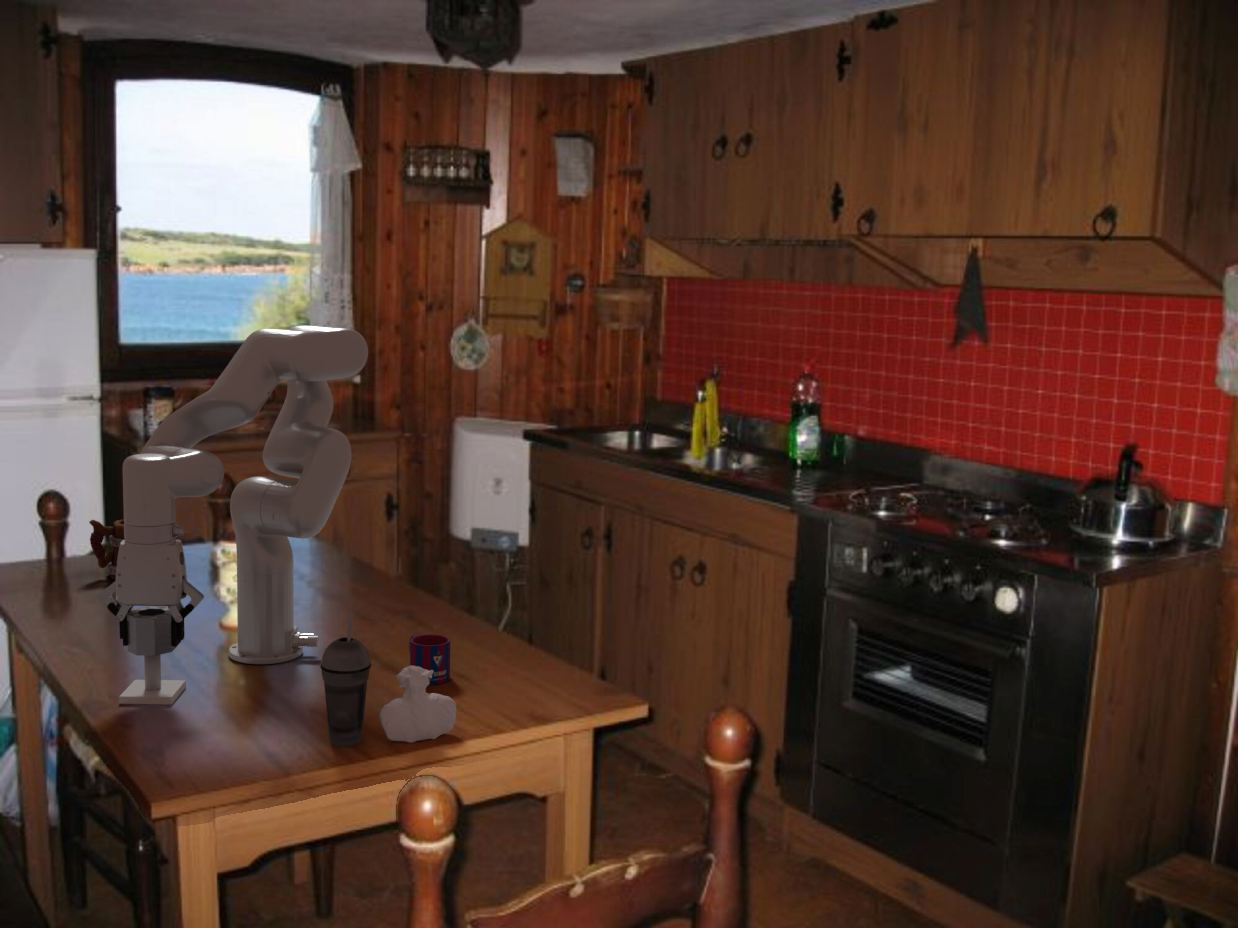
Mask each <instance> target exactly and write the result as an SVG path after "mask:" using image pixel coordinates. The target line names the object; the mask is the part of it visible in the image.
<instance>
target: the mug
mask: <svg viewBox="0 0 1238 928" xmlns="http://www.w3.org/2000/svg"><path fill="white" fill-rule="evenodd" d="M88 523H89V525H91V526H92V529H93V531H92V532H91V535H90V538H89V541H90V546H91V549H92V550H93V553H94V556H95V557H96V559H97V563H98V564H97V565H98V567H99V568H101V569H105V568H107V572H108V573H109V574H110V575H109V577H110V579H113V580H114V581H116V568H117V559H118V553H119V547H120V543H121V542H122V541H123V540H124V518H122V519H119V520H115V521H114V522H113V525H112V526H107V525H106V526H105V525H103V524H102V523H101V522H100V521H97V520H95V519H91V520H89V522H88ZM108 536H109V537H108ZM105 537H108V539H109V545H110V546H111V547H112V549H111V552H108V553H107V554H106V552H107V551H106V549H107V548H105V546H104V545H102V544H103V542H104V539H105Z"/></svg>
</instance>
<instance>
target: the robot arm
mask: <svg viewBox="0 0 1238 928" xmlns="http://www.w3.org/2000/svg"><path fill="white" fill-rule="evenodd" d="M368 347H369V346H368V343H367V342H366V339H365V338H364V337H363V335H362V334H361V333H360V332H358V331H357V330H354V329H352V328H346V327H345V328H344V327H331V326H322V325H321V326H320V325H296V326H295V325H294V326H291V327H289V328H287V329H278V328H262V329H258V330H255V331H253V332H251V334H249V335H248V336H247V337H246V338H245V339H244V341H243V342H242V344H241V346H240V347H239V348H238V350H237V351H236V352H235V354H234V355H233V357H232V358H231V360H230V361H229V363H228V364H227V366H225V368H224V370H223V371H222V372H221V374H220V375H219V376H218V378H217V380H215V382H214V384H213V385H212V387H210V389H209V390H207V391H206V392H204V393H203V394H201V395H198V396H197V397H195V398H194V399H192V400H190V401H189V402H187V403H186V404H184V405H183V406H181V407H180V408H178V409H176V410H175V411H174V412H173V413H171V414H169V415H168V416H167V417H166V418H165V419H164V420H163V421H162V422H161V423H160V424H159V425H158V426H157V428H156V429H155V430H154V432H153V434H152V435H151V436H150V438H149V439H148V440H147V441H146V443H145V444H144V446H143V448H142V450H141V452H140V453H138V454H133V455H129V456H127V457H126V458H125V459H124V461H123V463H122V498H123V501H122V503H123V504H122V505H123V519H124V540H123V541H122V542H121V543H120V547H119V553H118V559H117V568H116V580H114V581H113V582H112V583H111V584H110V585H109V586H107V587H106V588H105V589H104V590H103V591H101V592H100V593H99V594H98V596H97V597H98V600H100V601H101V602H102V604H103V605H104V606H106V607H107V610H108V611H109V612H110V613H111V614H113V615H114V616H115V617H116V620H117V622H119V623H118V624H119V639H120V640H122V646H124V647H128V637H127V614H128V613H129V612H130V611H131V610H132V609H134V608H133V607H135V606H137V607H147V606H167V607H168V608H169V610H170V612H171V614H172V616H173V618H174V621H173V622H172V623H171V643H172V646H173V647H176V648H177V647H178V646H179V645H180V644H181V643H182V641H184V639H185V634H186V633H185V619H186V617H188V616H189V615H190V614H191V613H192V612H193V611H194V610H195V609H196V608H197V607H198V605H199V604H201V602H202V601H203V600H204V598H205V595H204V594H203V593H202V592H201V591H200V590H199V589H197V588H196V587H195V586H194V585H192V584H191V583H190V582H189V581H188V574H187V573H188V572H187V563H186V558H185V552H184V551H185V550H184V548H183V543H182V540H181V539H177V538H178V537H180V536H185V533H186V531H185V530H186V528H185V527H184V526H180V525H178V524H177V523H178V521H176V501H175V500H176V499H177V498H201V497H205V496H208V495H210V494H212V493H214V492H215V491H217V489H219V488H220V486H221V485H222V483H223V480H224V477H225V468H224V464H223V462H222V461H221V460H220V458H219V457H218V456H217V455H215V454H214V453H212V452H210V451H207V450H204V449H198V448H193V447H194V446H196V444H198V443H199V442H201V441H202V440H204V439H206V438H208V437H210V436H213V435H215V434H218V433H221V432H225V431H228V430H231V429H232V430H233V429H235V428H238V427H241V426H244V425H246V424H248V423H251V422H252V421H253V420H254V419H255V418H257V415H258V414H259V412H260V411H261V409H262V408H263V406H264V405H265V403H266V402H267V400H268V399H269V397H270V396H271V395H272V393H273V391H274V390H275V388H276V387H277V386H278V385H279V383H280V382H281V381H284V380H286V384H287V389H286V390H287V392H286V395H285V396H286V397H285V399H284V403H283V405H282V408H281V409H280V412H279V413H278V416H277V418H276V420H275V422H274V424H273V426H272V428H271V430H270V433H269V435H268V437H267V439H266V442H265V445H264V447H263V450H262V461H263V464H264V467H266V469H267V470H269V471H270V472H271V473H273V474H276V475H279V476H284V477H288V478H294V479H298V481H294V480H288V479H284V478H277V477H270V476H251V477H249V478H245V479H243V480H242V481H240V482H239V483H237V485H236V486H235V487H234V489H233V490H232V492H231V495H230V500H229V510H230V511H229V512H230V517H231V521H232V526H233V531H234V536H235V544H236V545H235V546H236V586H237V587H236V599H237V600H236V602H237V605H236V608H237V609H236V610H237V612H236V613H237V614H236V615H237V642H236V643H233V644H232V645H230V646H229V648H228V657H229V658H230V659H231V660H233V661H235V662H238V663H240V664H241V663H243V664H249V665H273V664H274V665H275V664H281V663H284V662H285V663H286V662H289V661H292V660H295V659H297V658H299V657H300V656H301V655H302V654H303V652H304V651H303V650H304V649H303V647H308V648H318V647H319V639H320V638H319V636H318V635H315V633H307V632H306V633H302V632H301V631H299V629H298V627H299V625H298V624H297V625H296V624H294V616H295V615H294V614H295V613H294V609H295V608H294V601H295V600H294V566H295V565H294V553H293V549H292V545H291V543H290V539H289V538H294V539H310V538H313V537H315V536H317V535H318V534H319V533H320V532H321V531H322V530H323V528H324V527H325V525H326V524H327V521H328V519H329V518H330V516H331V513H332V512H333V509H334V506H335V504H336V502H337V499H338V498H339V495H340V493H341V491H342V488H343V485H344V484H345V481H346V479H347V478H348V477H347V476H348V474H349V471H350V468H351V463H352V447H351V444H350V441H349V439H348V437H347V436H346V435H345V434H344V433H343V432H342V431H340V430H339V429H336V428H333V427H328V425H329V422H330V420H331V418H332V414H333V410H334V398H333V394H332V392H331V388H330V386H329V384H328V381H331V380H338V379H348V378H351V377H353V376H356V375H357V374H359V373H361V371H362V369H363V368H364V367H365V366H366V363H367V361H368V357H369V348H368ZM288 537H289V538H288ZM114 593H115V599H114V597H113V594H114ZM187 596H188V597H189V598H190V601H189V602H188V603H187V604H186V605H185V606H184V605H183V603H182V602H181V601H182V600H184V599H185V598H186V597H187Z"/></svg>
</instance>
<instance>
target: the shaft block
mask: <svg viewBox="0 0 1238 928" xmlns="http://www.w3.org/2000/svg"><path fill="white" fill-rule="evenodd" d="M161 656H162V655H156V656H143V658H144V679H134V680H133V681H132V682H131V684H130V685H129V686H128V687H127V688H126V689H124V691H123V692H121V694H120V695H119V697H118V700H119V701H118V702H119V705H166V706H167V705H169V706H170V705H173V704H174V702H176V700H177V699H178V698H179V696H181V694H182V693H183V692H184V690H186V688H187V680H185V679H184V680H181V679H176V680H175V679H173V680H171V679H162V671H161V670H162V667H161V666H162V665H161V664H162V661H161Z"/></svg>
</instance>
